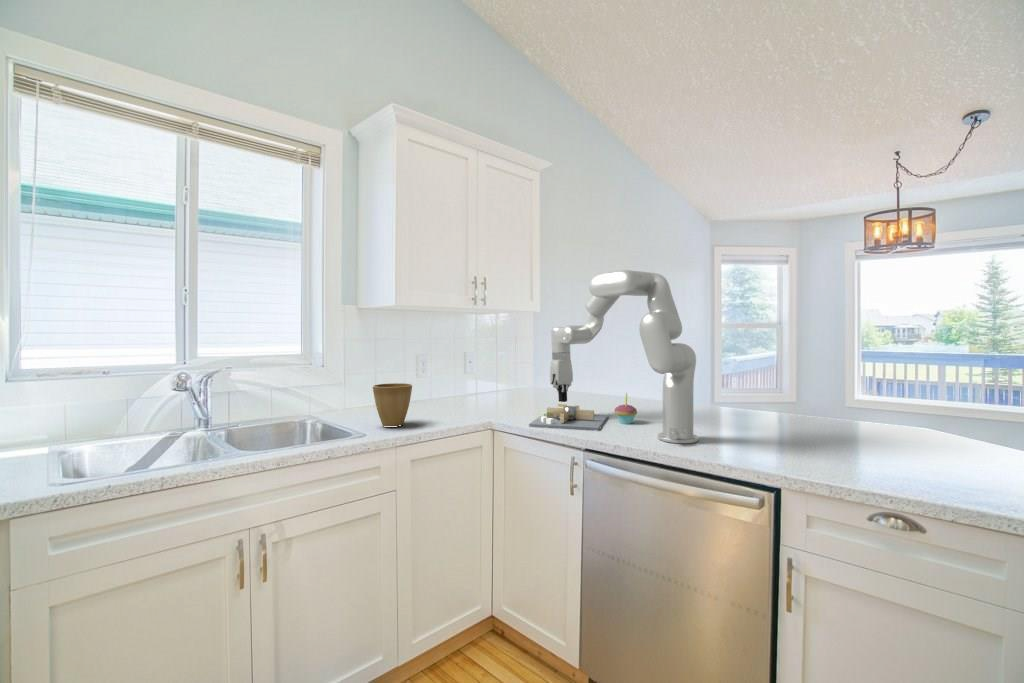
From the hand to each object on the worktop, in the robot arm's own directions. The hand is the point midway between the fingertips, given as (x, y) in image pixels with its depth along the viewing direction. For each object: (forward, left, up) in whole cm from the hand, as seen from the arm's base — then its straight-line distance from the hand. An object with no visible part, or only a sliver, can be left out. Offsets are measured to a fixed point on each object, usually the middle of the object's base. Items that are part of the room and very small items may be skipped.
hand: (562, 401), depth 192 cm
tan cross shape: (-6, -4, -6) cm, 10 cm away
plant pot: (-32, +60, -7) cm, 68 cm away
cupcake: (-2, -25, -7) cm, 26 cm away
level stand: (-6, -4, -7) cm, 10 cm away
